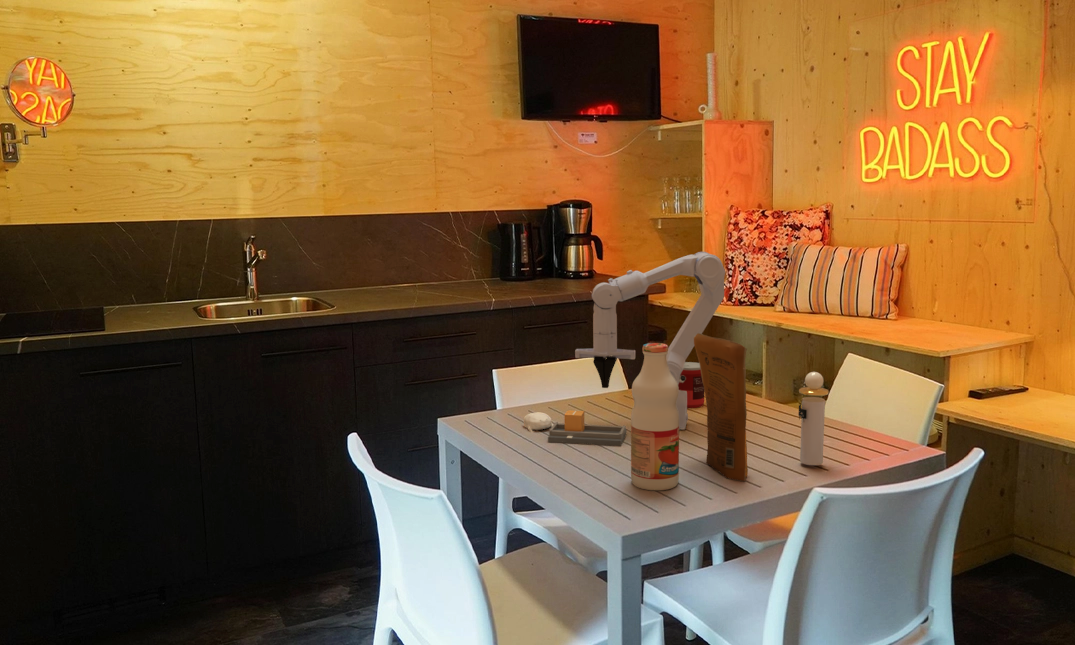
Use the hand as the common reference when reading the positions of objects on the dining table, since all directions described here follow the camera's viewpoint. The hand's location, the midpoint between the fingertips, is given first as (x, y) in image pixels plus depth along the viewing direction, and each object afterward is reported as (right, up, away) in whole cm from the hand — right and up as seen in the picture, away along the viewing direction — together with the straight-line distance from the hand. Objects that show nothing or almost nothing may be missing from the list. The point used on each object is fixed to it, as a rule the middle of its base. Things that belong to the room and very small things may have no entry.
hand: (605, 387), depth 207 cm
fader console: (-4, -11, -8) cm, 15 cm away
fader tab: (-8, -10, -7) cm, 15 cm away
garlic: (-16, -11, +1) cm, 20 cm away
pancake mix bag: (+22, -15, -32) cm, 41 cm away
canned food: (+24, -7, +21) cm, 33 cm away
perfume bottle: (+41, -14, -30) cm, 53 cm away
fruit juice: (+7, -16, -39) cm, 43 cm away
